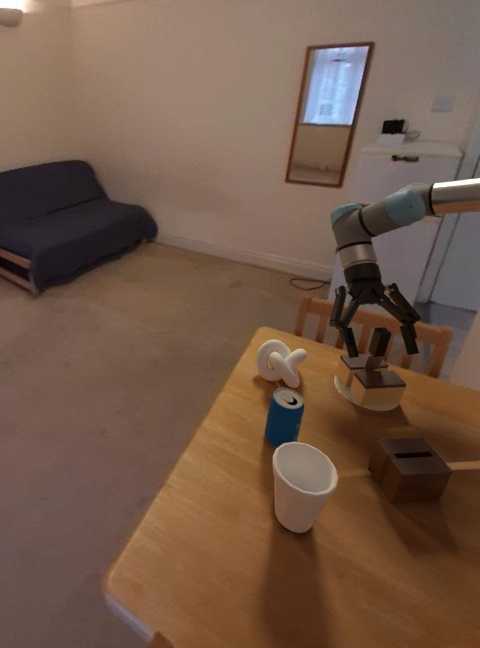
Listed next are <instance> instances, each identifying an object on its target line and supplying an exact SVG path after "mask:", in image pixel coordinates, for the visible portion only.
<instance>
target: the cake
mask: <svg viewBox="0 0 480 648" xmlns="http://www.w3.org/2000/svg"><path fill="white" fill-rule="evenodd" d="M358 355H359V357H355V358H349V356H348V354H340V356H339V359H338V364H337V367H336V371H335V375H337V376H338V377H339V379H340V380H341V381H342V383H343V384H344V385H345V387H350V386H351V388H350V391H349V392H350V393H351V395H352V396H353V397H354V399H355V400H356V401H357V402H358V404H359V405H360V406H359V405H358V406H359V407H361V406H373V405H390V404H399V405H400V404H401V400H402V398H403V395H404V393H405V390H406V387H407V383H406V382H405V380H403V379H402V378H401V376H399V375H398V374H397V373H396V371H394V370H393V369H391V370H388V369H389V367H390V366H389V364H388V363H387V362H386V361H385V360H384V359H383V358H382V361H381V364H380V367H379V371H372V372H363V370H364V367H365V364H366V360H367V357H368V355H371V354H370V353H358Z"/></svg>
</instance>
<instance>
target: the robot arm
mask: <svg viewBox="0 0 480 648" xmlns="http://www.w3.org/2000/svg"><path fill="white" fill-rule="evenodd" d="M464 213H465V214H466V213H480V177H476V178H468V179H459V180H458V179H457V180H450V181H442V182H435V183H423V182H414V183H411V184H407V185H405V186H403V187H402V188H400V189H399V190H398V191H395V192H393V193H392V194H389V195H388V196H386V197H384V198H383V199H380V200H378V201H375V202H374V203H371V204H369V205H367V206H364V207H362V205H361V204H359V203H348V204H345V205H340V206H338V207H335V209H333V210H332V211H331V212H330V215H329V217H330V223H331V230H332V232H333V235H334V239H335V242H336V247H337V250H338V255H339V260H340V263H341V267H342V268H343V271H342V273H343V276H344V280H345V283H346V284H347V286H345V285H344V284H343V285H340V286H338V287H336V288H334V294H335V295H334V296H335V298H334V301H333V302H334V303H333V306H332V310H331V314H330V317H329V321H328V326H329V327H331V328H333V327H334V328H335V330H338V331H339V336H340V340H341V342H342V343H343V344H345V346H346V351H347V355H348V356H349V358H355V357H359V355H358V354H359V350H358V347H357V343H356V339H355V334H354V331H353V327H352V326H351V327H349V325H350V323H351V321H352V320H353V317H354V316H355V314H356V313H357V311H358V309H359V308H360V306H365V305H377V306H379V307H381V308H383V309H384V310H385V311H386V312H387V313H388V314H389V315H391V316H392V317H393V318H395V320H397V322H399V323H400V324H401V325H399V329H400V332H401V336H402V340H403V343H404V348H405V350H406V354H407V356H411V355H417V354H420V351H419V348H418V344H417V341H416V339H418V334H417V331H416V328H415V324H417V322H420V321H422V316H421V315H420V314H419V313H418V312H417V311H416V309H414V307H413V305H412V304H411V303H410V302H409V301H408V300H407V299H406V297H405V296H404V295H403V294H402V293H401V291H400V288H399V287H398V284H397V283H396V282H392V283H390V284H383V282H382V277H383V276H382V272H381V270H380V266H379V264H377V262H378V259H377V254H376V250H375V248H374V245H373V241H372V238H376V237H378V236H381V235H384V234H386V233H390V232H392V231H395V230H398V229H402V228H404V227H409V226H411V225H413V224H415V223H417V222H420V221H422V220H423V219H425V217H426V216H438V215H450V214H464ZM348 295H349V296H350V297H351V299H350V301H349V302H348V305H347V307H346V309H345V311H344V312H343V310H344V306H345V303H346V299H347V296H348Z"/></svg>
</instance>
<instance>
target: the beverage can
mask: <svg viewBox="0 0 480 648" xmlns="http://www.w3.org/2000/svg"><path fill="white" fill-rule="evenodd" d="M304 412H305V403H304V398H303V396H302V395H301V394H300V393H299V392H298V391H296V390H294V389H293V388H290V387H278V388H277V389H275V390H274V391H273V393H272V394H271V395H270V399H269V405H268V410H267V417H266V422H265V428H264V437H265V440H266V442H268V444H270V445H271V446H272V447H274V448H278V447H279V446H281V445H282V444H284V443H289V442H298V438H299V434H300V430H301V424H302V420H303V416H304Z"/></svg>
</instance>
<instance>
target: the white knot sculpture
mask: <svg viewBox="0 0 480 648" xmlns="http://www.w3.org/2000/svg"><path fill="white" fill-rule="evenodd" d="M307 356H308V353H307V351H306V350H305V349H304V348H297V349H295V350H294V351H291V349H290V348H289V347H288V345H287V344H285V343H284V342H283V341H281V340H280V339H269V340H266V341H265V342H264V343H262V344H261V346H259V349H258V350H257V353H256V357H255V367H256V369H257V373H258V374H259V375H260V376H261V378H263V379H264V380H266V381H268V382H279V381H280V380H282V381H283V382H284V383H285V384H286V386H287V387H288V388H290V389H297V388H298V387H300V383H301V379H300V376H299V371H298V369H297V366H299V365H300V364H301V363H302V362H304V361H305V360H306V359H307ZM270 367H271V368H270Z"/></svg>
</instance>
